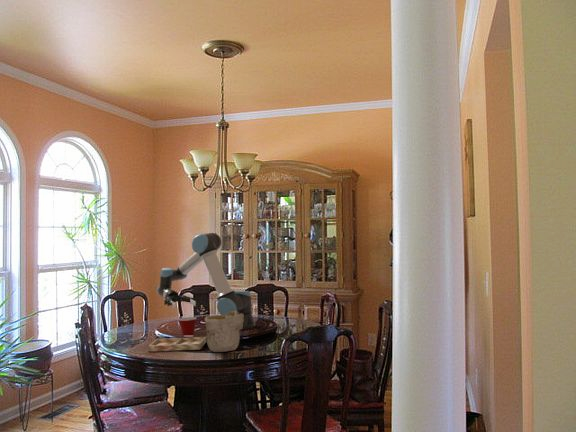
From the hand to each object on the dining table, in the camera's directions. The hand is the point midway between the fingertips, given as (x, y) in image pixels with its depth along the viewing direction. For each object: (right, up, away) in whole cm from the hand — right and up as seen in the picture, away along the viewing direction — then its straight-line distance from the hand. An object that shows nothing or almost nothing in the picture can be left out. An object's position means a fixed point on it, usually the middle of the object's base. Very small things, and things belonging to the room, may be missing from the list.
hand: (185, 304), depth 302 cm
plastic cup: (+3, -19, -6) cm, 20 cm away
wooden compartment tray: (+1, -19, -25) cm, 31 cm away
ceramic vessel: (+28, -18, -34) cm, 47 cm away
